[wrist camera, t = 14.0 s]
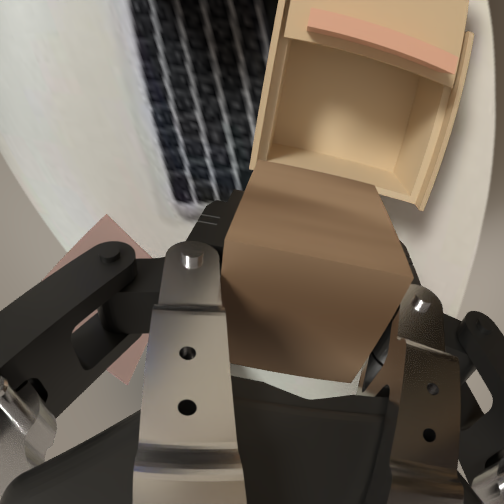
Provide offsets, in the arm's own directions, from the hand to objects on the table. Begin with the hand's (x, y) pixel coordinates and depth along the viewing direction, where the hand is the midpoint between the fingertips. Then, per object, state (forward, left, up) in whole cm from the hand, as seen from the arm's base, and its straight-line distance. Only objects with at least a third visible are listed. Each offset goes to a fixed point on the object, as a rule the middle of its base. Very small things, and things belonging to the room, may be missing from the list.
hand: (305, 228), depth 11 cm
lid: (+14, -3, -12) cm, 19 cm away
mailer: (+5, -3, -18) cm, 19 cm away
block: (0, 0, 0) cm, 0 cm away
